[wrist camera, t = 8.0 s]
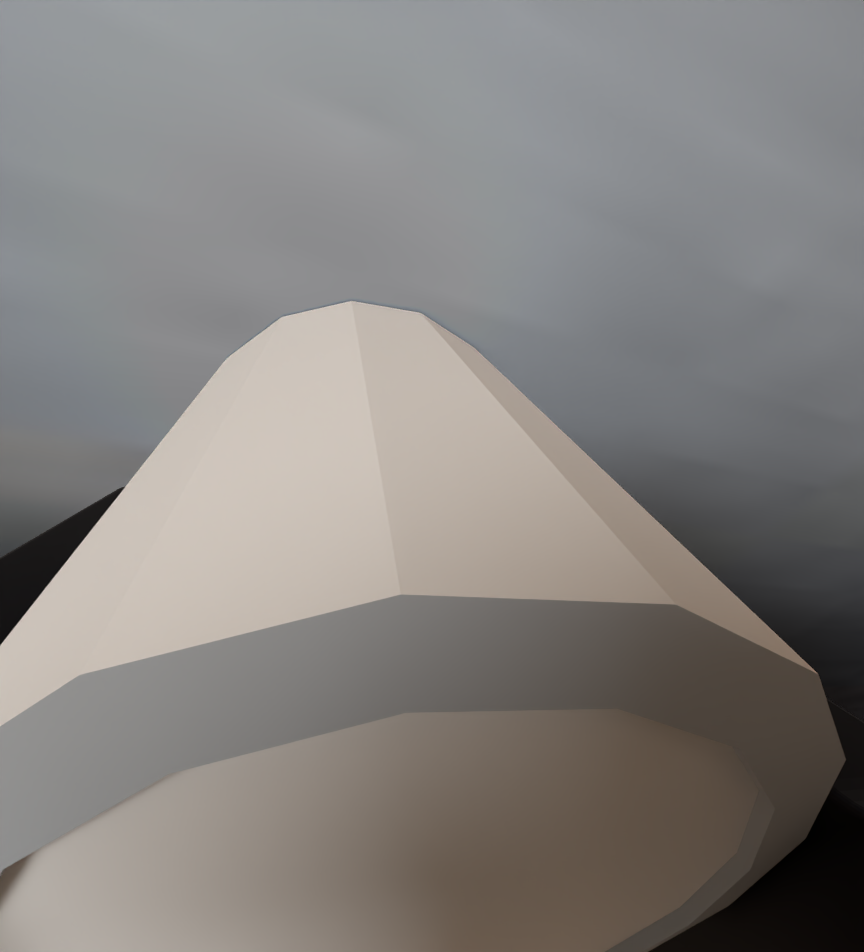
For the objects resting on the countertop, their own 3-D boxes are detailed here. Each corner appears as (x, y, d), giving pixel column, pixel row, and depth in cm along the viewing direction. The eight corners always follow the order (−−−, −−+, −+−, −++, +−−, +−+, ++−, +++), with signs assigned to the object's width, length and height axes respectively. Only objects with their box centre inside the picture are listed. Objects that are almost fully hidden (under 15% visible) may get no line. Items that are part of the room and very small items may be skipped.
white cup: (289, 634, 12) (252, 1111, 6) (57, 372, 8) (-616, 983, 2) (577, 517, 11) (833, 917, 6) (475, 177, 8) (952, 342, 2)
